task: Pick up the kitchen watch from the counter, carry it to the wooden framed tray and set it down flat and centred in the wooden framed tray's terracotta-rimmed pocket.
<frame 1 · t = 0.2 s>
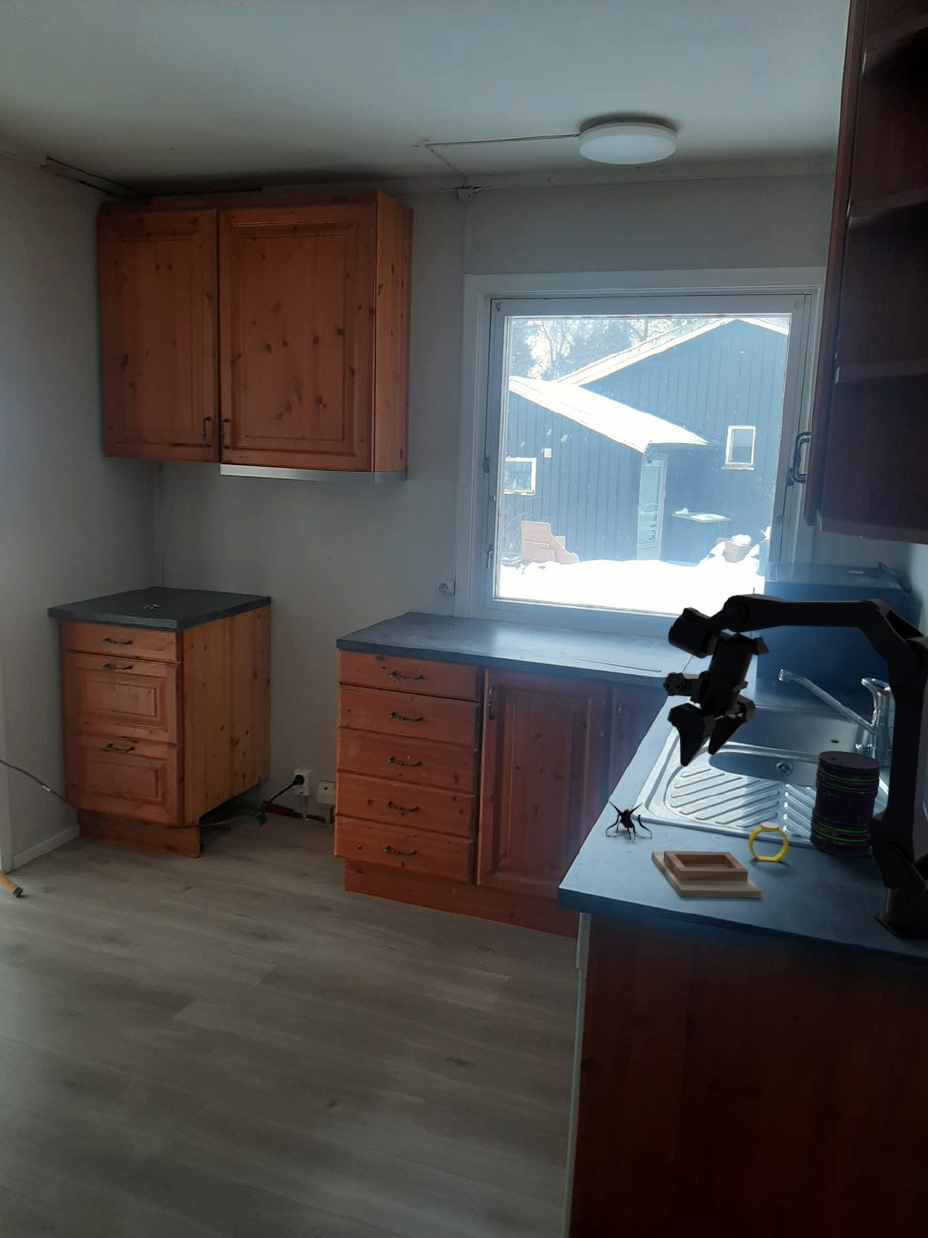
hand: (697, 759, 150), 15 cm above the worktop, tool pointing down, fingers open, 9 cm apart
creature: (627, 836, 157), on the worktop
dark purple barrel: (839, 845, 158), on the worktop
watch: (766, 861, 150), on the worktop
wooden framed tray: (703, 876, 141), on the worktop
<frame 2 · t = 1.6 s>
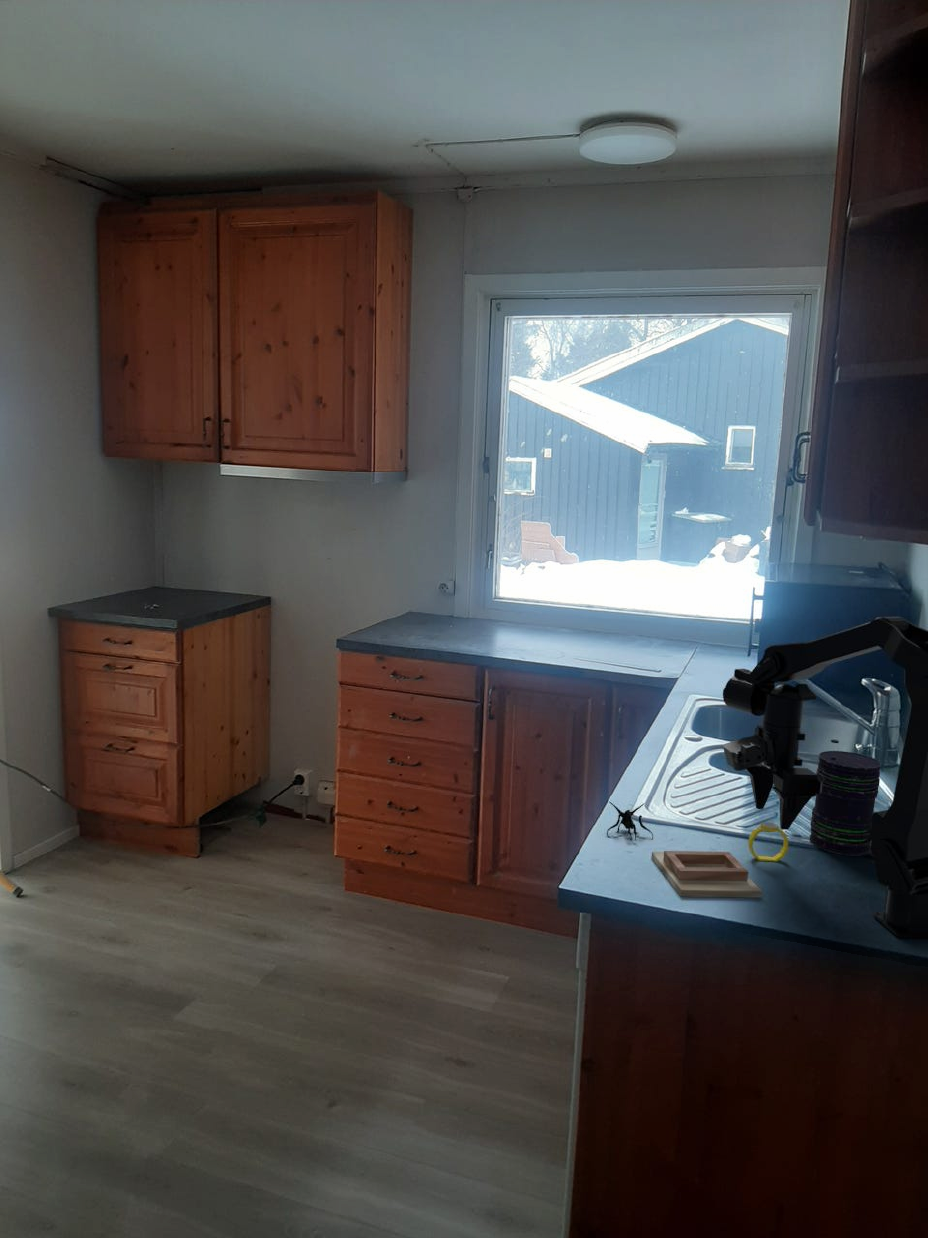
hand: (771, 818, 149), 7 cm above the worktop, tool pointing down, fingers open, 9 cm apart
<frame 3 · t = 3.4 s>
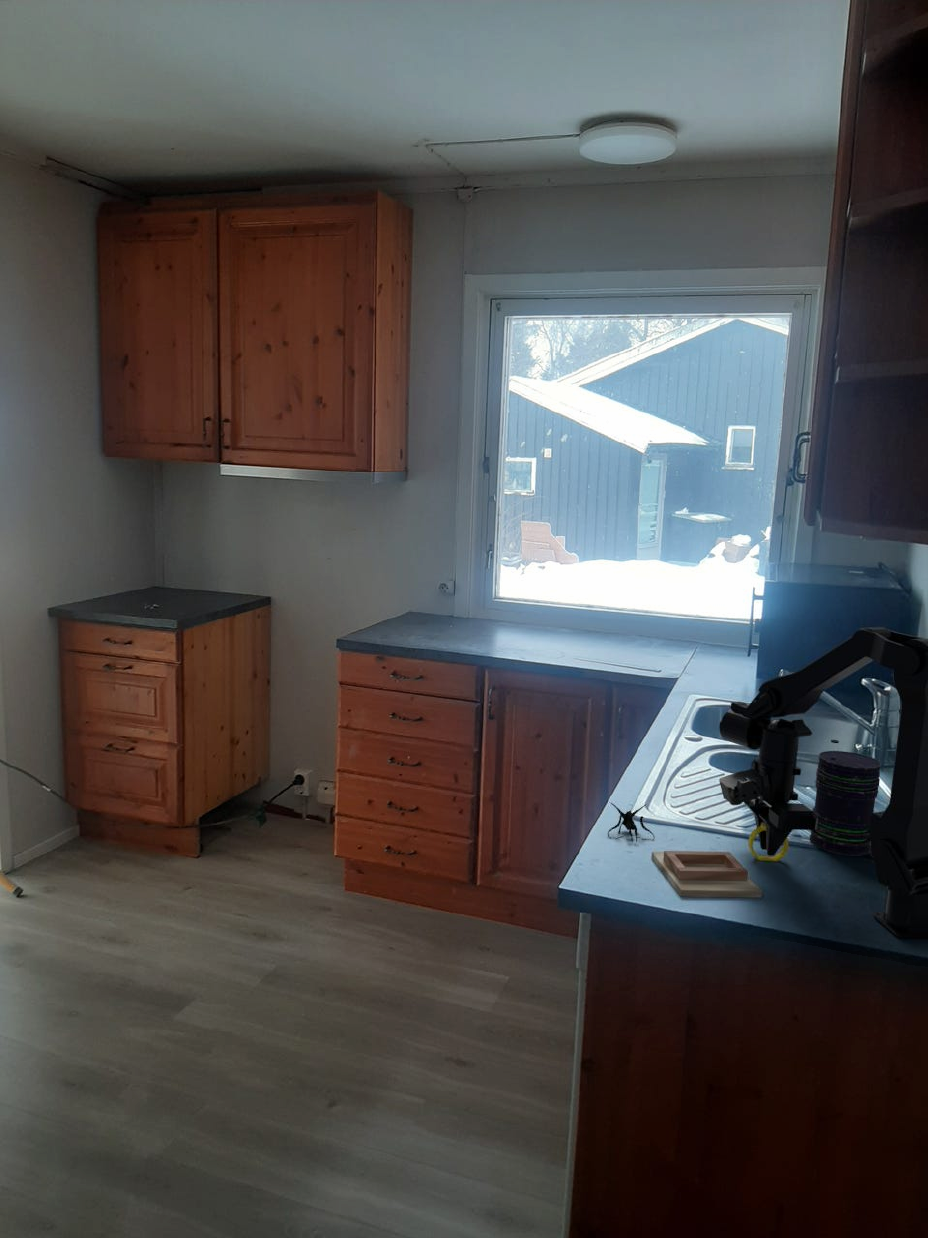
hand: (767, 852, 150), 1 cm above the worktop, tool pointing down, fingers closed on watch, 2 cm apart
watch: (766, 860, 150), on the worktop, touching gripper
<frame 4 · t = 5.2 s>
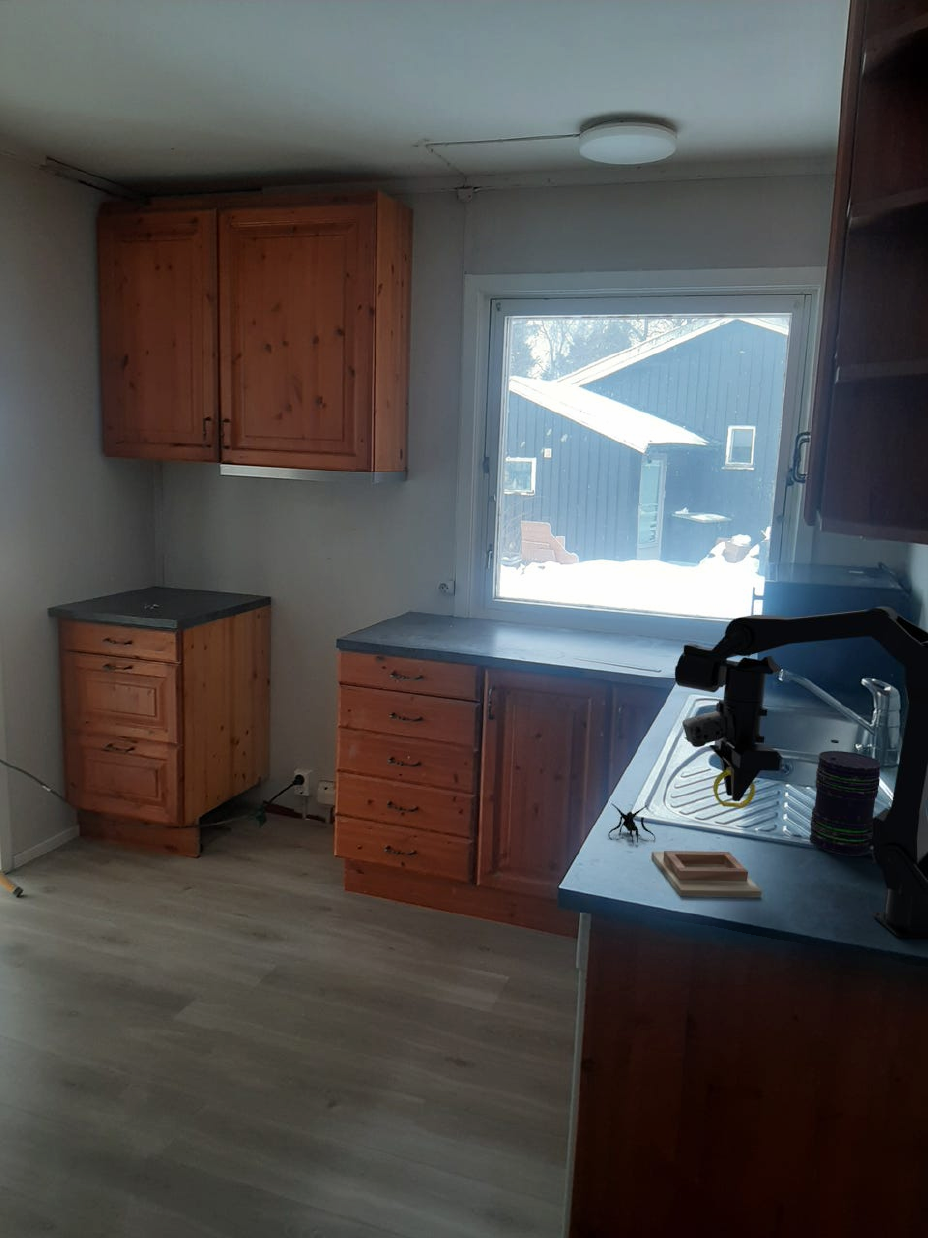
hand: (733, 798, 143), 12 cm above the worktop, tool pointing down, fingers closed on watch, 2 cm apart
watch: (732, 807, 143), point 10 cm above the worktop, touching gripper
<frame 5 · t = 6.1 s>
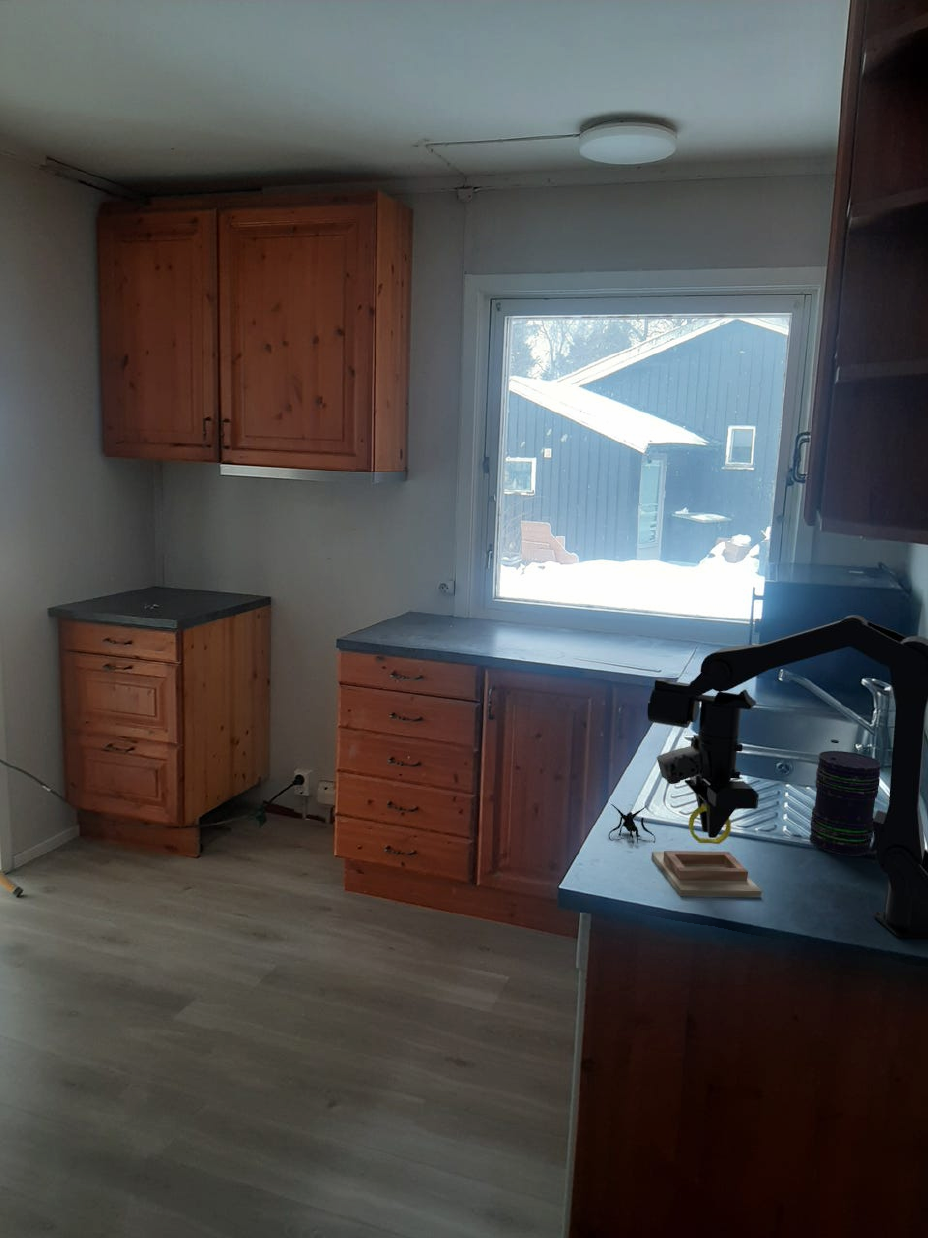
hand: (709, 834, 140), 7 cm above the worktop, tool pointing down, fingers closed on watch, 2 cm apart
watch: (708, 843, 141), point 5 cm above the worktop, touching gripper
when the fingers open (3 cm above the worktop, at t = 6.9 s): watch stays where it is, resting on wooden framed tray.
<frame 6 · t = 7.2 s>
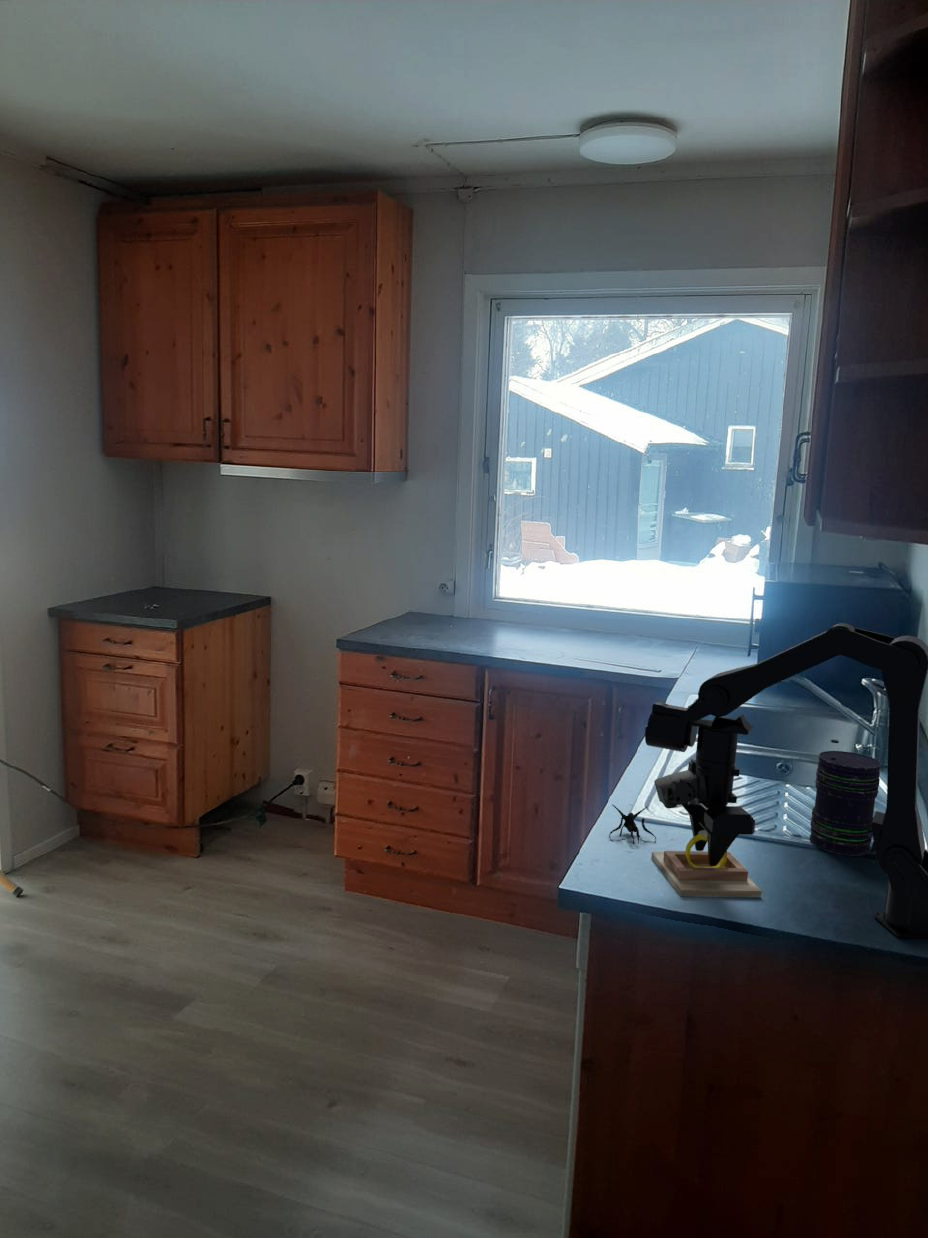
hand: (705, 858, 141), 3 cm above the worktop, tool pointing down, fingers open, 5 cm apart
watch: (704, 871, 141), point 1 cm above the worktop, touching wooden framed tray
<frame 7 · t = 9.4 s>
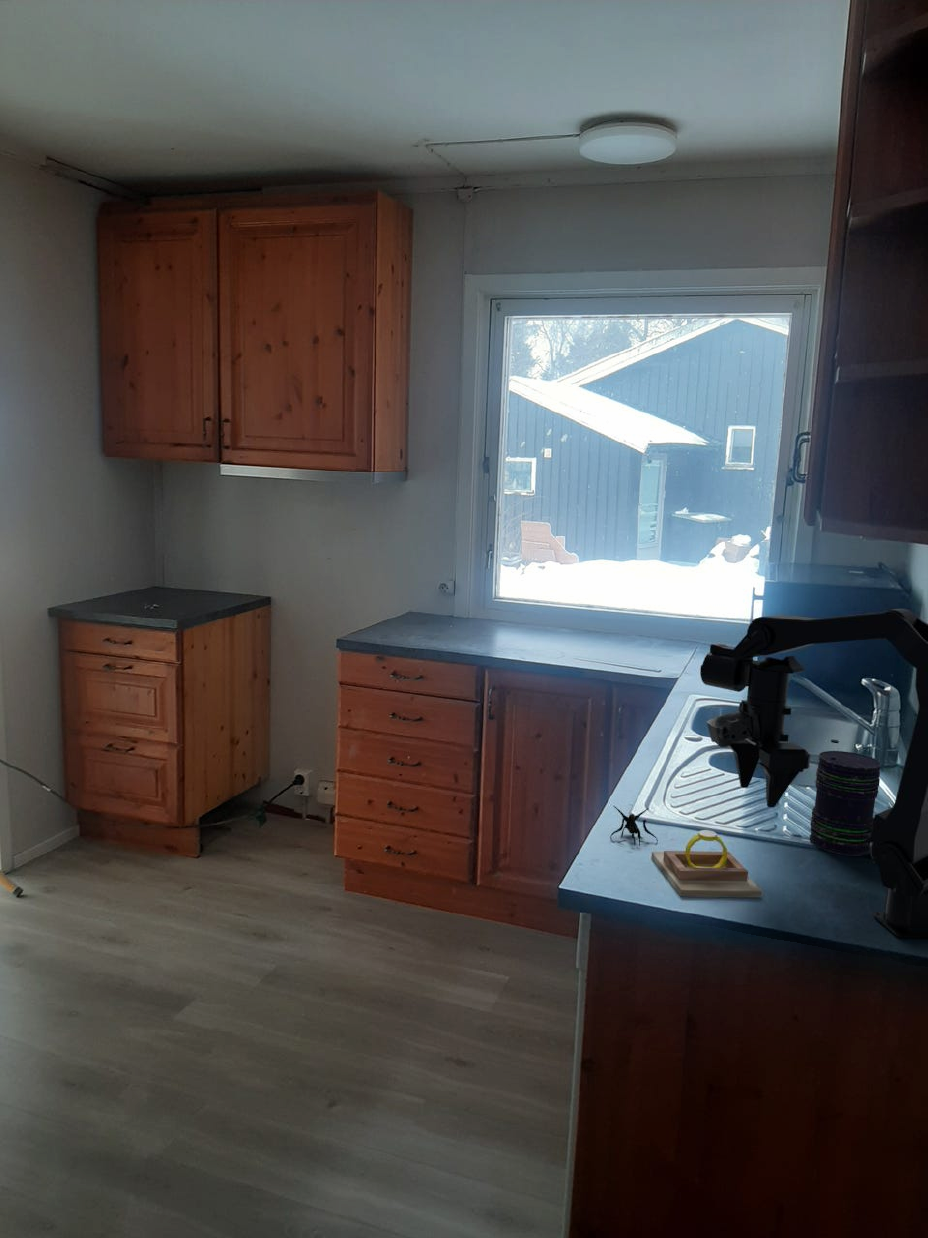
hand: (757, 797, 144), 12 cm above the worktop, tool pointing down, fingers open, 9 cm apart
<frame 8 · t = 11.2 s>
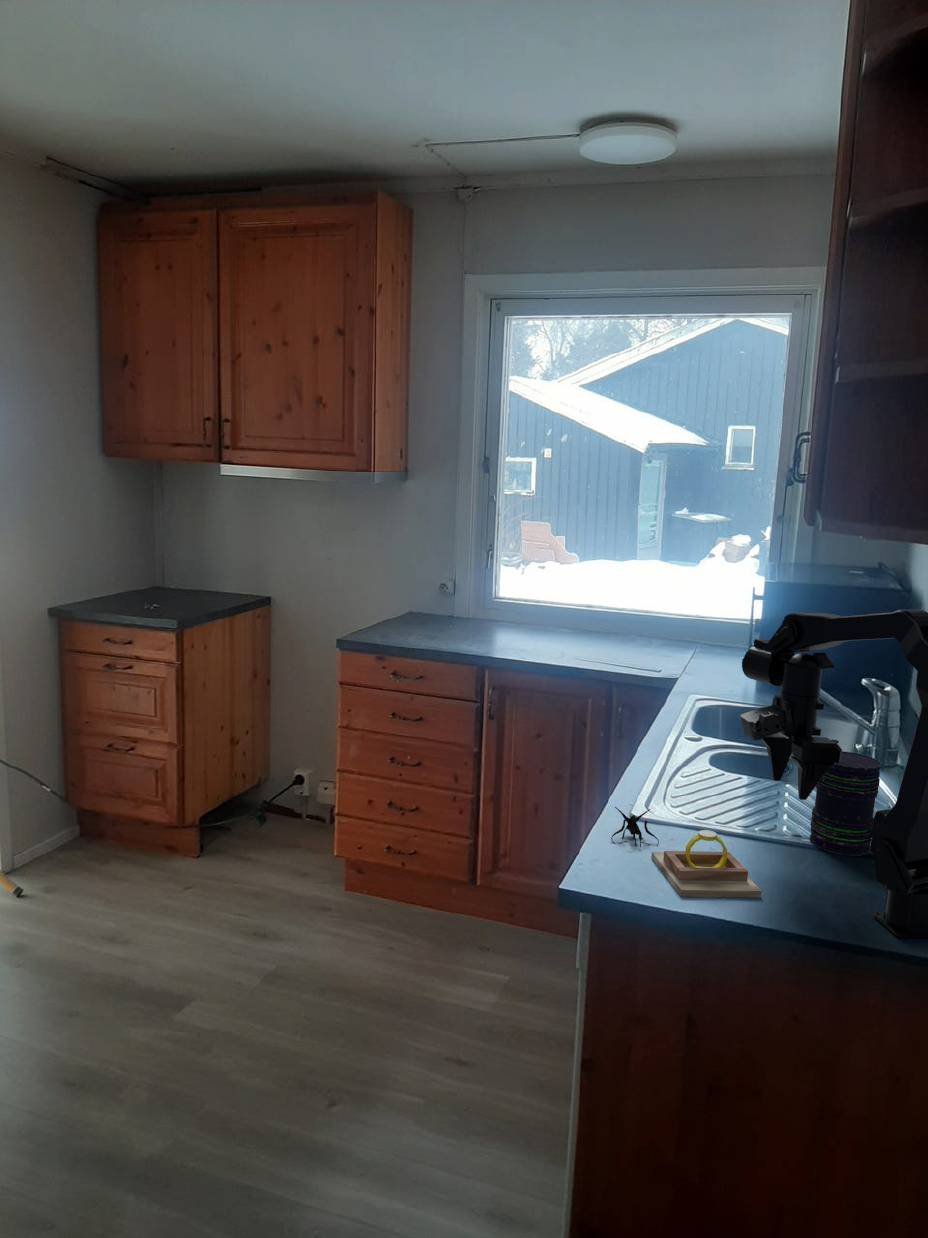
hand: (789, 789, 147), 12 cm above the worktop, tool pointing down, fingers open, 9 cm apart
at the end: watch 0.1 cm off-centre on the wooden framed tray, point 0.8 cm above the wooden framed tray's base; watch tilted 0°; the gripper is holding nothing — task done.
